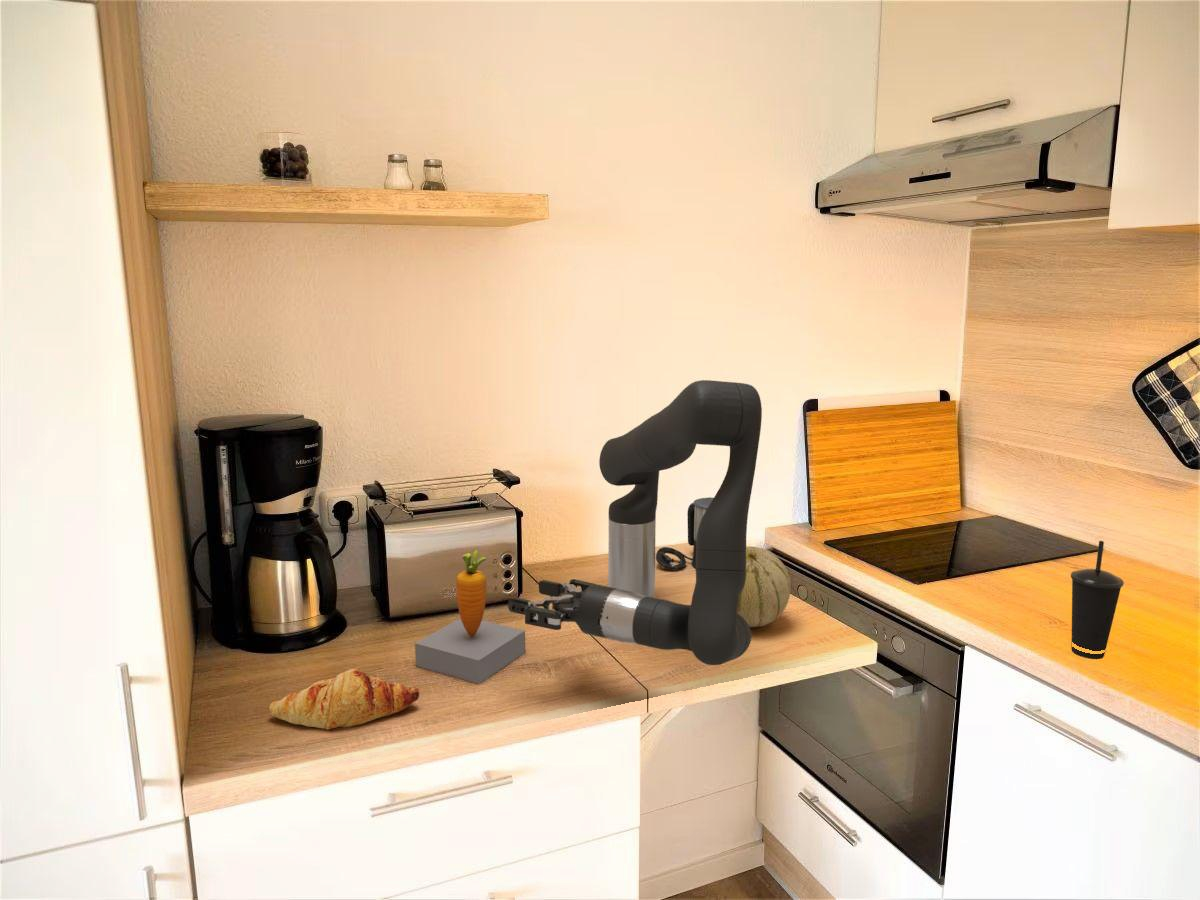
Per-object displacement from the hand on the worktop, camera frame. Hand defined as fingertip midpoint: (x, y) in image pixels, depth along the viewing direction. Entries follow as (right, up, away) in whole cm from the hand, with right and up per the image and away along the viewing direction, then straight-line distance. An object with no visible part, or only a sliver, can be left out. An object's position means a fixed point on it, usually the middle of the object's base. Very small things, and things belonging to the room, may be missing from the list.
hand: (525, 594), depth 128 cm
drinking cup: (+96, -12, +11) cm, 97 cm away
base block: (-10, -12, +8) cm, 17 cm away
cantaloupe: (+40, -10, +23) cm, 47 cm away
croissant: (-25, -16, -9) cm, 32 cm away
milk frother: (+33, -3, +54) cm, 64 cm away
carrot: (-10, -8, +7) cm, 15 cm away
